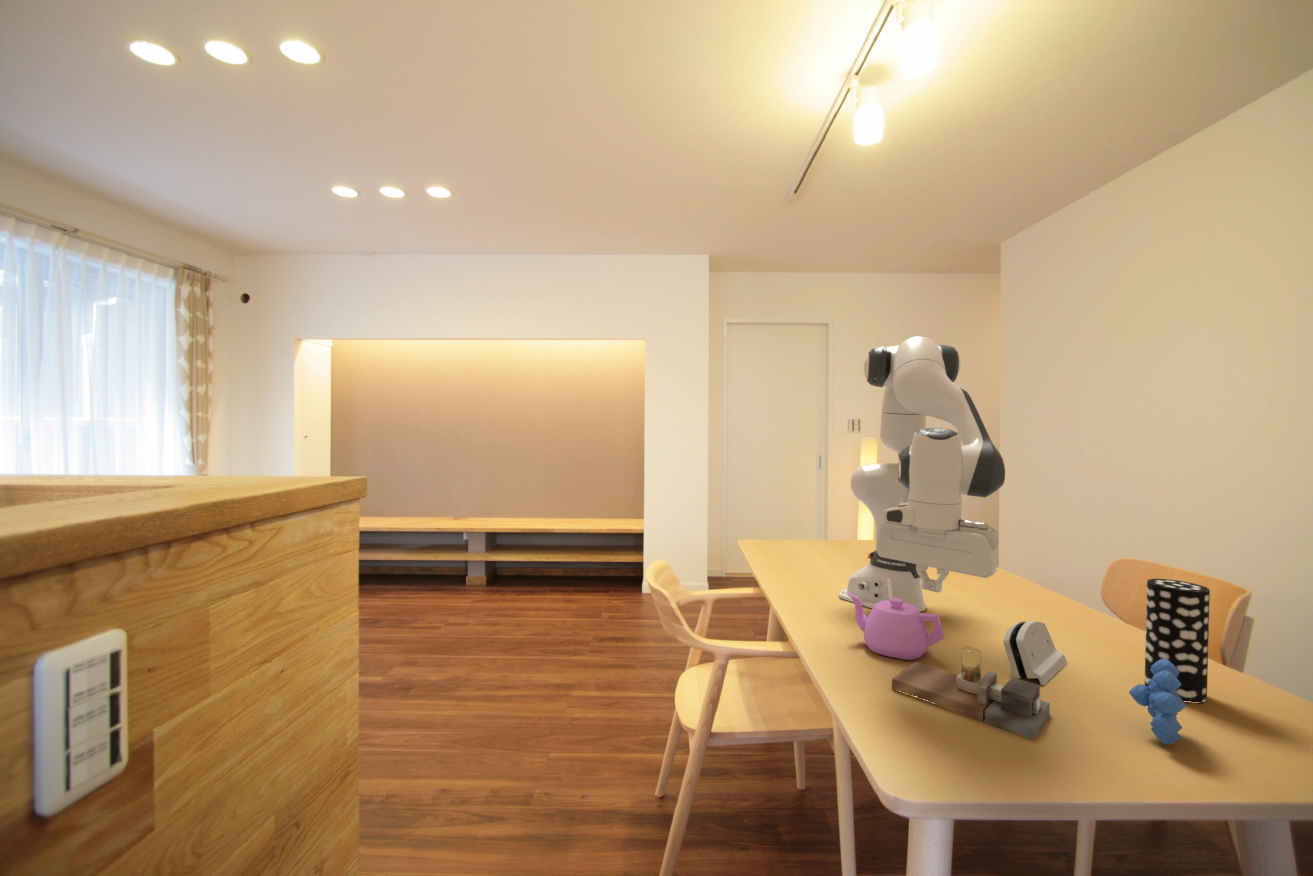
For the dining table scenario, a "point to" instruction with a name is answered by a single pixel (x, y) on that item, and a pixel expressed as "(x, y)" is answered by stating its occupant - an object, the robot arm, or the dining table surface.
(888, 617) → the teapot
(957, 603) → the dining table surface
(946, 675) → the door board
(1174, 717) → the grapes
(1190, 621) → the white-spotted black cylinder
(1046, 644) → the light grey rounded piece
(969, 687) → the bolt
